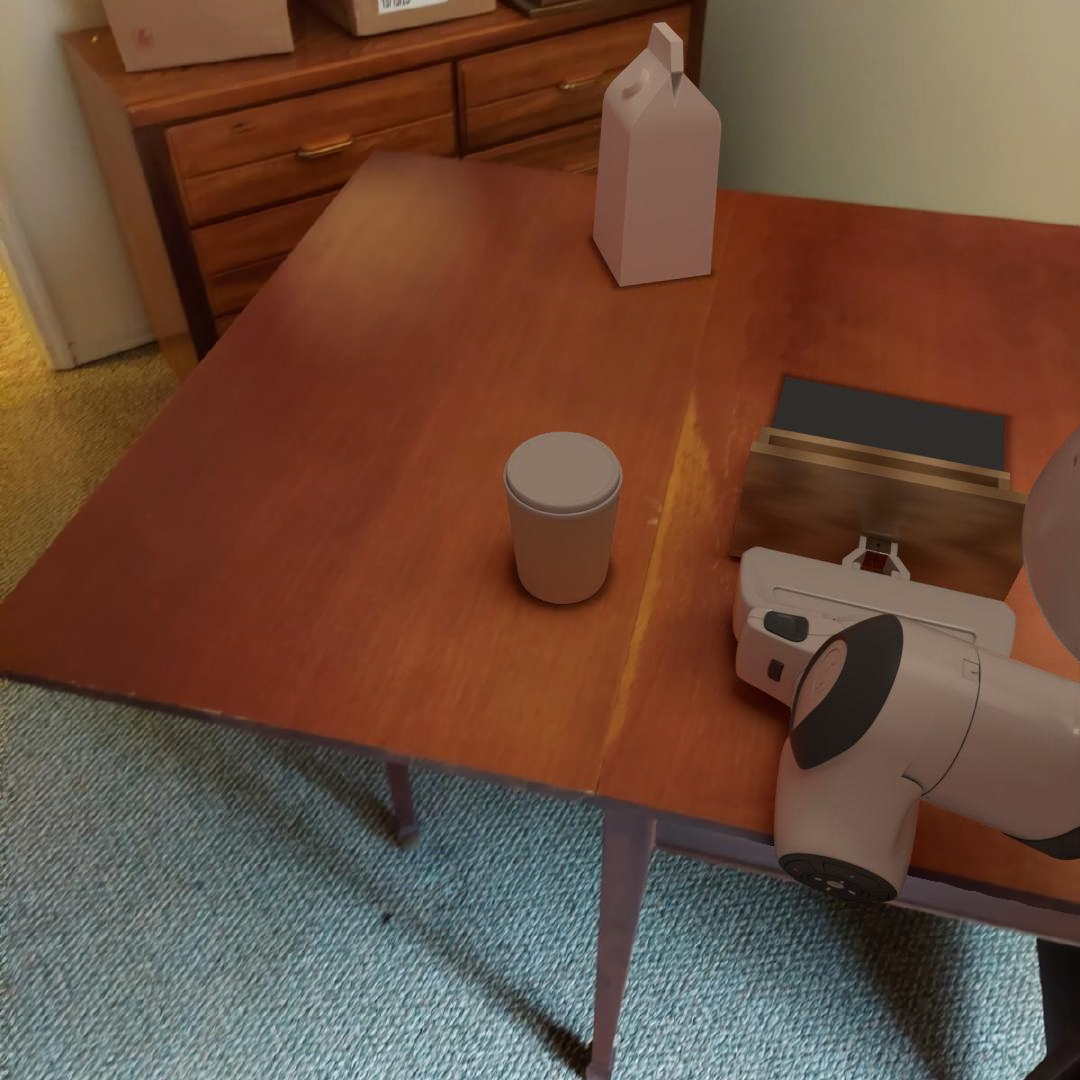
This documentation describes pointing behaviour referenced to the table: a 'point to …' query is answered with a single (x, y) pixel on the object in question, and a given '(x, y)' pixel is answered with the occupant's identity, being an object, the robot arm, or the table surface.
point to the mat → (891, 423)
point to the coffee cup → (562, 513)
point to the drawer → (882, 510)
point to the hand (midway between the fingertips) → (876, 544)
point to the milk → (657, 169)
